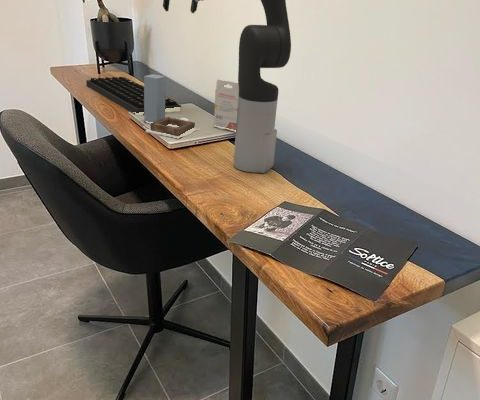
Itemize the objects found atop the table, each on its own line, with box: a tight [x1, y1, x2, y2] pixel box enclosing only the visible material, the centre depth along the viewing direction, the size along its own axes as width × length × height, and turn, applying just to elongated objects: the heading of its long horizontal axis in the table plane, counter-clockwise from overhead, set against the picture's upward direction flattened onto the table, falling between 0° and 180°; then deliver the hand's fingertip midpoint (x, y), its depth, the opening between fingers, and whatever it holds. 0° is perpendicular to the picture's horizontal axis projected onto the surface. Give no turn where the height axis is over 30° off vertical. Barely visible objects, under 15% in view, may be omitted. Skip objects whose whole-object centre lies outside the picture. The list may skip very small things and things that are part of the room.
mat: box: [144, 128, 180, 140], centre depth 143 cm, size 11×12×1 cm
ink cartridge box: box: [213, 79, 239, 130], centre depth 147 cm, size 9×5×15 cm, turn 62°
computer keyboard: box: [85, 76, 182, 113], centre depth 175 cm, size 45×16×4 cm, turn 36°
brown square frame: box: [150, 116, 196, 136], centre depth 143 cm, size 9×9×2 cm
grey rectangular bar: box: [143, 73, 166, 122], centre depth 147 cm, size 4×4×14 cm
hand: (179, 11), depth 154 cm, fingers open, 8 cm apart
